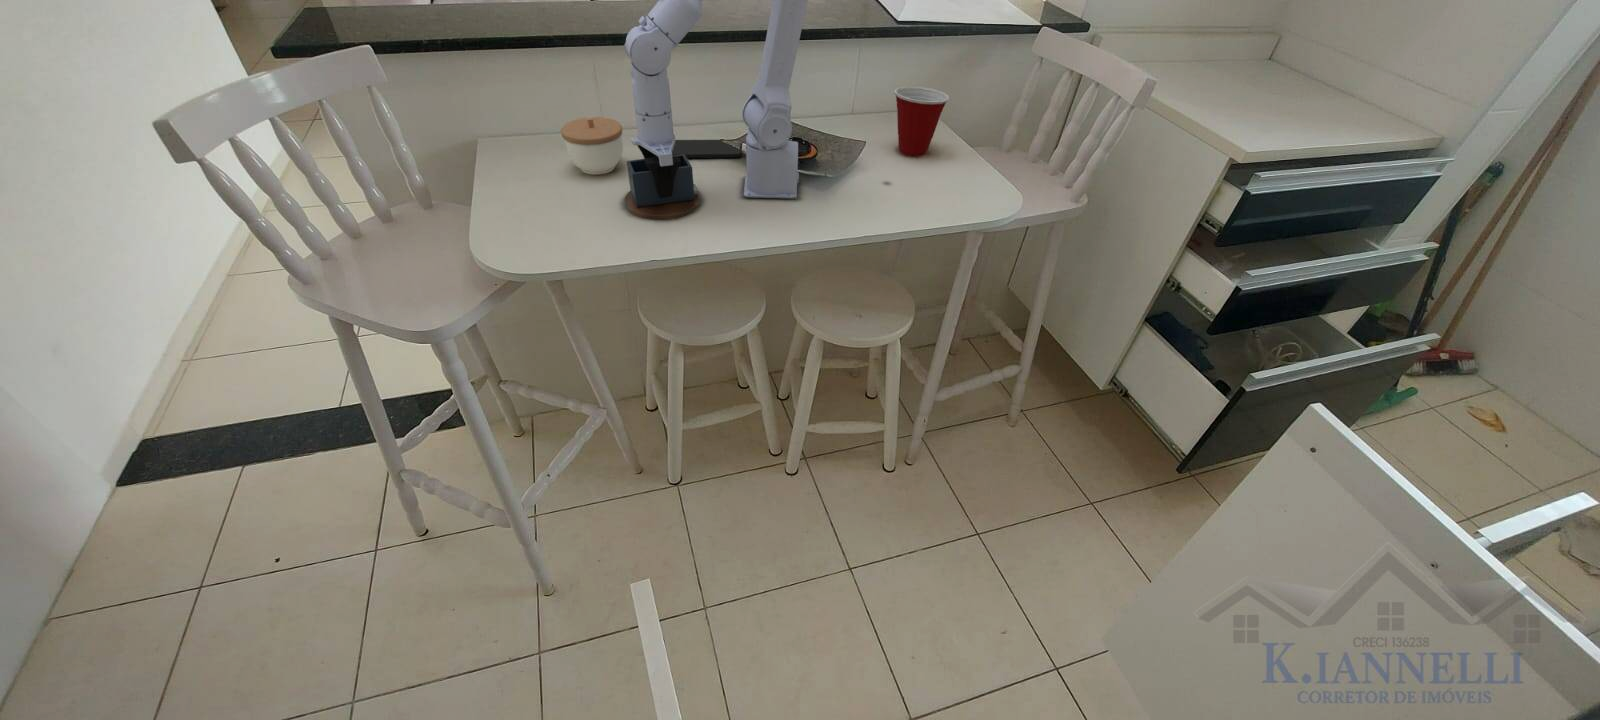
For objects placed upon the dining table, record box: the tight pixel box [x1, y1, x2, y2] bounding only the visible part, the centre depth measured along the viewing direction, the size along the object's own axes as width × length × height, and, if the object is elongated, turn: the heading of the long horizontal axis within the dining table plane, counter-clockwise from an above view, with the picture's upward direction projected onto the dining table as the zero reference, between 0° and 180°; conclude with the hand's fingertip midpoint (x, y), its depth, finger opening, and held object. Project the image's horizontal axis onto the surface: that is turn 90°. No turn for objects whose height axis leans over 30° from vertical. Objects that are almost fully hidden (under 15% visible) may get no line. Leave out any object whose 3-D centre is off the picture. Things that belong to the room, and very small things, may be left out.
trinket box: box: [560, 116, 624, 176], centre depth 123 cm, size 11×11×9 cm
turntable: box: [624, 190, 701, 220], centre depth 116 cm, size 13×13×1 cm
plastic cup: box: [894, 86, 950, 158], centre depth 133 cm, size 11×11×12 cm
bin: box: [626, 154, 700, 207], centre depth 114 cm, size 11×5×6 cm, turn 111°
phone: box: [672, 139, 742, 159], centre depth 133 cm, size 7×1×15 cm
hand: (661, 188), depth 115 cm, fingers closed on bin, 5 cm apart
